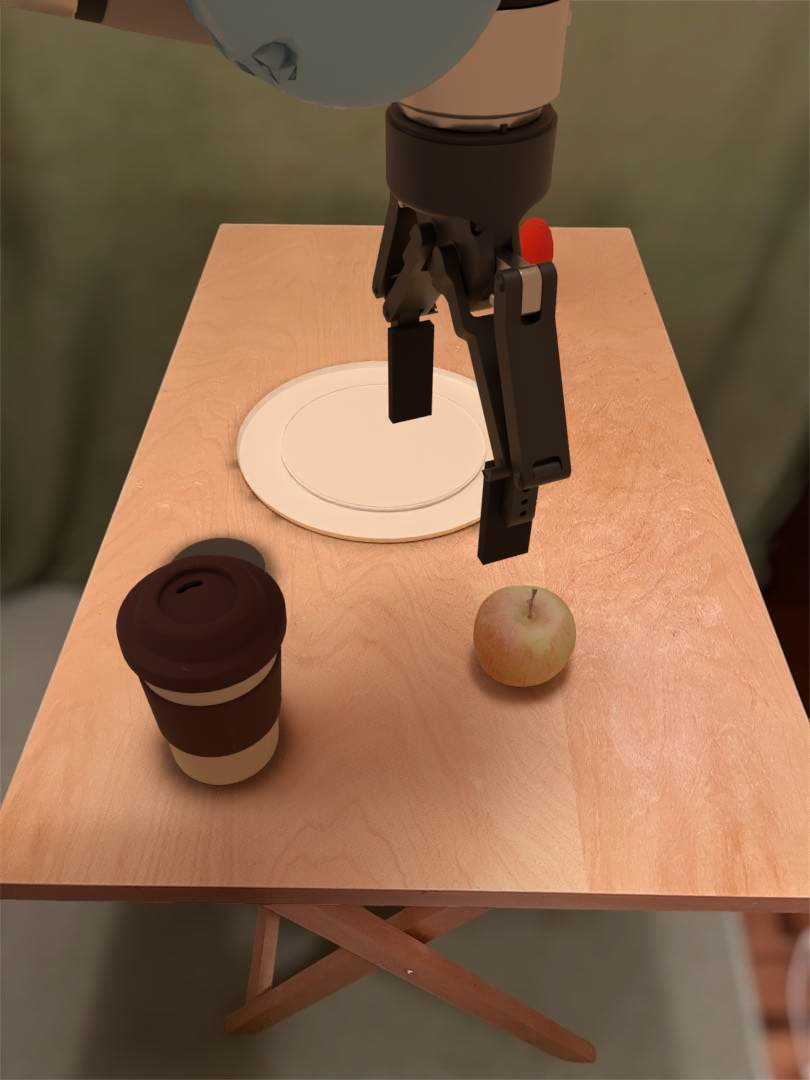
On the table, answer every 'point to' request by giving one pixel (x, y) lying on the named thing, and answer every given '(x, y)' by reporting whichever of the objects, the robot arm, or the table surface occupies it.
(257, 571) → the coffee cup
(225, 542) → the slate coaster
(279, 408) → the plate
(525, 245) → the tomato
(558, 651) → the fruit
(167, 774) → the table surface
